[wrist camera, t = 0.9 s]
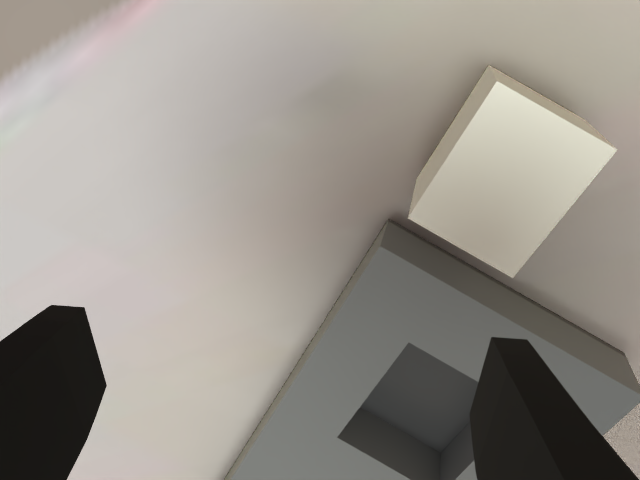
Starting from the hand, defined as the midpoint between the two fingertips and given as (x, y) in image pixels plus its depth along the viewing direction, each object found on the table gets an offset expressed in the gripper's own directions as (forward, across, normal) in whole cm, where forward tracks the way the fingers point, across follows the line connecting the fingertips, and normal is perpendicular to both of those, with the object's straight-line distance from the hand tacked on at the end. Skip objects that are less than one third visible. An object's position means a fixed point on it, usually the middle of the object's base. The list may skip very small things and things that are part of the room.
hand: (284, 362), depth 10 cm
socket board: (+11, -3, +18) cm, 22 cm away
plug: (+14, -7, +1) cm, 15 cm away
